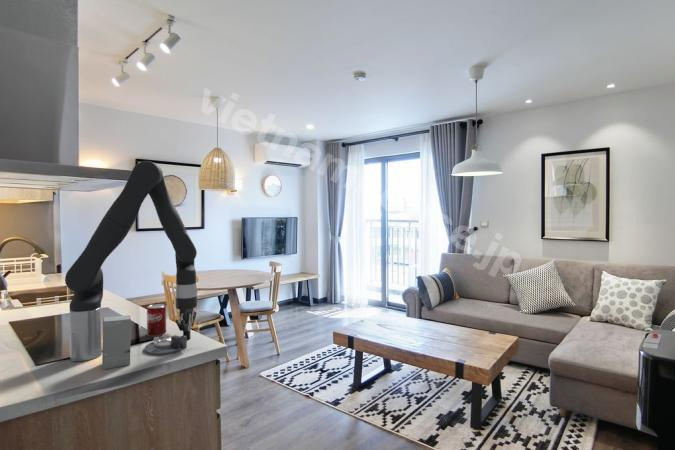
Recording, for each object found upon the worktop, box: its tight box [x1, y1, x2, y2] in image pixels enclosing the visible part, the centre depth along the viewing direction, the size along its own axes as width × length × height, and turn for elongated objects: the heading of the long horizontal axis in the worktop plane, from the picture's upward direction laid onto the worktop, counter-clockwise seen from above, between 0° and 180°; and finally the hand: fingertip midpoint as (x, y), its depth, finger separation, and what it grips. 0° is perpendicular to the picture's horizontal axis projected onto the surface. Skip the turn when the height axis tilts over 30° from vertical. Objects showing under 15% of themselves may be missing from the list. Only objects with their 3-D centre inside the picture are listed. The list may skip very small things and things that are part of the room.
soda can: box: [146, 303, 167, 338], centre depth 158 cm, size 7×7×12 cm
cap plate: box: [144, 341, 183, 356], centre depth 143 cm, size 14×14×1 cm
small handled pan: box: [153, 333, 188, 350], centre depth 141 cm, size 14×8×5 cm, turn 61°
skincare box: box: [101, 315, 132, 370], centre depth 128 cm, size 8×7×16 cm
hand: (186, 340), depth 144 cm, fingers closed
